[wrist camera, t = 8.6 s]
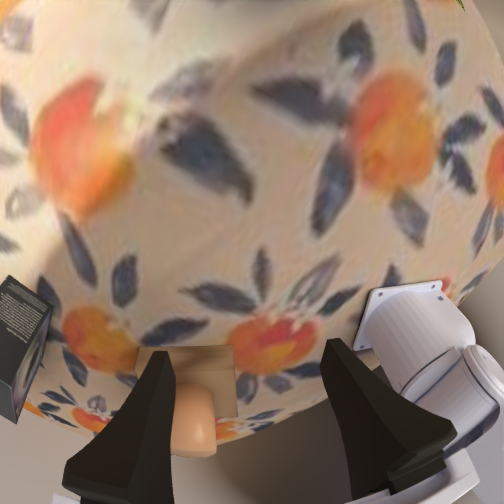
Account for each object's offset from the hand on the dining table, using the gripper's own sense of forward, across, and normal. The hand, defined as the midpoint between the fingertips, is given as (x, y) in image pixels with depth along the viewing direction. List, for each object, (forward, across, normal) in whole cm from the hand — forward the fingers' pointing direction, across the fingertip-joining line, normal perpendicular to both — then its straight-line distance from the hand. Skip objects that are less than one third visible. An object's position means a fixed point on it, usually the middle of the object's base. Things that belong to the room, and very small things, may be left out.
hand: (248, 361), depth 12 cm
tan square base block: (+10, +5, +14) cm, 18 cm away
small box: (+10, +23, +7) cm, 26 cm away
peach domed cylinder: (+7, +5, +14) cm, 16 cm away
